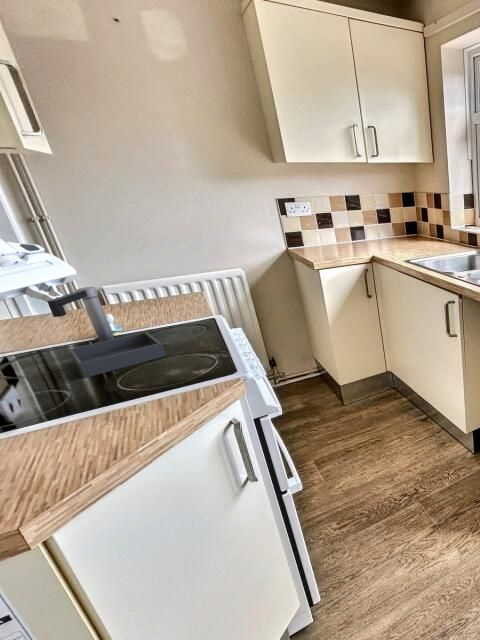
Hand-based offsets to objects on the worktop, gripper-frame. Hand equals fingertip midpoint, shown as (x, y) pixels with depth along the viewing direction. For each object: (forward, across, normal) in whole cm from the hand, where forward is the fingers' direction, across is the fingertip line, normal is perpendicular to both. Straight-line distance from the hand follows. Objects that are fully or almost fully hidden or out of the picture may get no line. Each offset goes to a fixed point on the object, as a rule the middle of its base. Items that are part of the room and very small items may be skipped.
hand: (57, 300), depth 101 cm
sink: (+18, -2, +3) cm, 19 cm away
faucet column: (+12, +6, +10) cm, 16 cm away
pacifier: (+6, +16, +16) cm, 23 cm away
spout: (+3, +2, 0) cm, 4 cm away
